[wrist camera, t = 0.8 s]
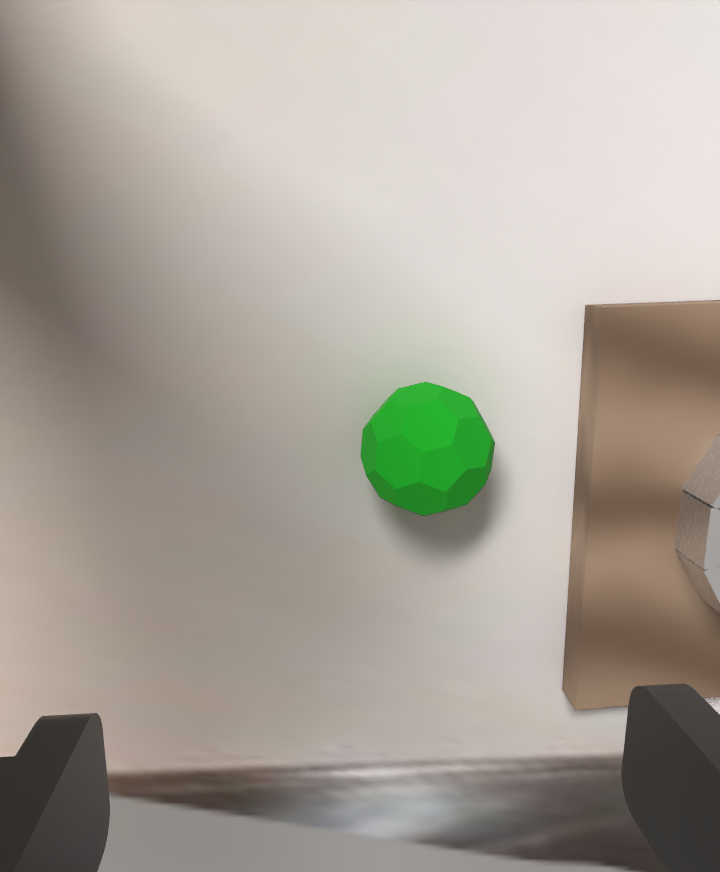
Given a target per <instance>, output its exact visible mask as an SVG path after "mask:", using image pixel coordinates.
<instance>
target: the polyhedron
mask: <svg viewBox="0 0 720 872" xmlns="http://www.w3.org/2000/svg"><path fill="white" fill-rule="evenodd" d="M494 445H495V442H494V440H493V438H492V436H491V434H490V431H489V429H488V427H487V425H486V423H485V422H484V420H483V418H482V416H481V414H480V413H479V411H478V409H477V407H476V406H475V404H474V402H473V401H472V400H471V399H470V397H467V396H465V395H462V394H460V393H457V392H455V391H453V390H450V389H448V388H445V387H442V386H439V385H435V384H431V383H427V382H423V383H419V384H415V385H411V386H407V387H403V388H399V389H398V390H397V391H396V392H394V393H393V394H392V395H391V396H390V397H389V398H388V399H387V401H386V402H385V403H384V404H383V405H382V406H381V407H380V409H379V410H378V411H377V412H376V413H375V414H374V415H373V417H372V418H371V419H370V421H369V422H368V423H367V425H366V426H365V427H364V429H363V435H362V446H361V459H362V463H363V466H364V470H365V473H366V476H367V477H368V479H369V481H370V482H371V484H372V485H373V487H374V488H375V490H376V492H377V493H378V495H379V496H380V498H382V499H384V500H386V501H388V502H390V503H392V504H394V505H396V506H398V507H401V508H404V509H406V510H409V511H412V512H414V513H417V514H420V515H431V514H435V513H439V512H443V511H447V510H451V509H455V508H458V507H460V506H463V505H466V504H468V503H469V502H470V500H471V499H472V498H473V497H474V496H475V495H476V494H477V493H478V492H479V491H480V490H481V488H482V487H483V486H484V485H485V484H486V481H487V479H488V476H489V473H490V471H491V466H492V459H493V452H494Z"/></svg>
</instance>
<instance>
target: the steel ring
mask: <svg viewBox="0 0 720 872" xmlns="http://www.w3.org/2000/svg"><path fill="white" fill-rule="evenodd" d="M719 434H720V433H719ZM682 489H683V490H685V491H681V494H680V504H679V513H678V522H677V532H676V541H675V549H676V550H675V551H676V553H677V555H678V557H679V559H680V561H681V563H682V565H683V567H684V569H685V571H686V573H687V574H688V576H689V578H690V580H691V582H692V584H693V586H694V588H695V590H696V592H697V594H698V596H700V597H701V598H702V599H703V600H704V601H706V602H707V603H708V604H709V605H710V606H712V607H713V608H714V609H715V610H717V611H718V612H719V613H720V436H718V435H717V436H716V438H715V439H714V441H713V442H712V444H711V445H710V447H709V448H708V450H707V451H706V453H705V454H704V456H703V457H702V459H701V460H700V462H699V463H698V465H697V466H696V468H695V469H694V471H693V472H692V474H691V475H690V477H689V478H688V480H687V481H686V483H685V484H684V486H683V488H682Z"/></svg>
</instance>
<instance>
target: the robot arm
mask: <svg viewBox="0 0 720 872" xmlns="http://www.w3.org/2000/svg"><path fill="white" fill-rule="evenodd" d="M622 785H623V791H624V795H625V799H626V802H627V805H628V808H629V810H630V812H631V815H632V817H633V818H634V820H635V822H636V823H637V825H638V826H639V828H640V830H641V831H642V833H643V834H644V836H645V837H646V839H647V841H648V842H649V844H650V845H651V847H652V848H653V850H654V852H655V853H656V855H657V856H658V858H659V860H660V861H661V863H662V864H663V866H664V867H665V869H666V871H667V872H720V715H719V714H718V713H717V712H716V711H715V710H714V709H713V708H712V707H711V706H710V705H709V704H708V703H707V702H706V701H705V700H704V699H703V698H702V697H701V696H700V695H699V694H698V693H697V692H696V691H695V690H694V689H693V688H692V687H691V686H689V685H688V684H684V683H682V684H663V685H644V686H636V687H635V688H634V689H633V690H632V692H631V695H630V699H629V707H628V716H627V725H626V735H625V744H624V753H623V763H622ZM109 816H110V803H109V791H108V781H107V771H106V760H105V750H104V739H103V729H102V723H101V719H100V716H99V715H98V714H97V713H92V714H73V715H54V716H42V717H40V718H39V719H38V721H37V722H36V723H35V725H34V727H33V728H32V730H31V731H30V733H29V735H28V736H27V738H26V740H25V741H24V743H23V744H22V746H21V748H20V749H19V751H18V753H17V754H16V756H13V757H0V872H97V870H98V868H99V865H100V862H101V859H102V856H103V853H104V849H105V845H106V840H107V835H108V827H109Z"/></svg>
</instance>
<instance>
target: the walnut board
mask: <svg viewBox="0 0 720 872" xmlns="http://www.w3.org/2000/svg"><path fill="white" fill-rule="evenodd" d="M719 433H720V300H710V301H683V302H656V303H629V304H602V305H585V322H584V339H583V355H582V372H581V388H580V405H579V421H578V438H577V455H576V471H575V488H574V504H573V521H572V537H571V554H570V571H569V587H568V604H567V620H566V637H565V654H564V670H563V687H562V690H563V691H564V693H565V694H566V696H567V697H568V699H569V701H570V702H571V704H572V705H573V707H574V708H575V710H585V709H595V708H605V707H616V706H626V705H629V699H630V695H631V692H632V690H633V689H634V688H635V687H636V686H644V685H663V684H682V683H684V684H688V685H689V686H691V687H692V688H693V689H694V690H695V691H696V692H697V693H698V694H699V695H700V696H701V697H702V698H710V697H720V613H719V612H718V611H717V610H715V609H714V608H713V607H712V606H710V605H709V604H708V603H707V602H706V601H704V600H703V599H702V598H701V597H700V596H698V594H697V592H696V590H695V588H694V586H693V584H692V582H691V580H690V578H689V576H688V574H687V573H686V571H685V569H684V567H683V565H682V563H681V561H680V559H679V557H678V555H677V553H676V551H675V550H676V549H675V541H676V532H677V522H678V513H679V504H680V494H681V491H685V490H683V489H682V488H683V486H684V484H685V483H686V481H687V480H688V478H689V477H690V475H691V474H692V472H693V471H694V469H695V468H696V466H697V465H698V463H699V462H700V460H701V459H702V457H703V456H704V454H705V453H706V451H707V450H708V448H709V447H710V445H711V444H712V442H713V441H714V439H715V438H716V436H717V435H718V436H720V434H719Z"/></svg>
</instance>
